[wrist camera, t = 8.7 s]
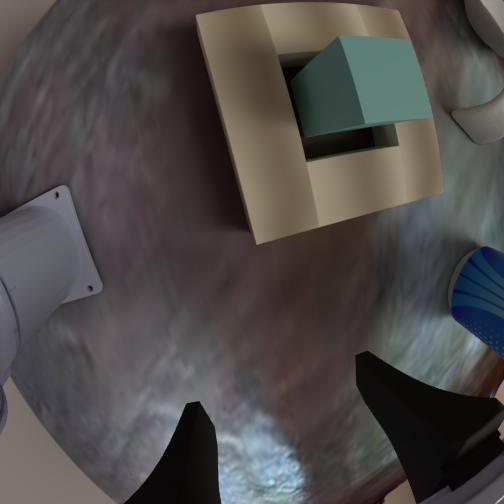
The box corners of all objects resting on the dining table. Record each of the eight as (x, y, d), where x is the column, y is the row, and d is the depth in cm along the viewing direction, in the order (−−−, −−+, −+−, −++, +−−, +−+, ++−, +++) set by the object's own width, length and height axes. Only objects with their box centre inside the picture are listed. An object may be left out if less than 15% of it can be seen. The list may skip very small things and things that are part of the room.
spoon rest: (449, -32, 12) (484, -49, 5) (506, 30, 15) (542, 24, 8) (422, 94, 17) (485, 83, 11) (491, 167, 20) (543, 176, 13)
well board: (250, 232, 19) (256, 244, 16) (197, 35, 14) (195, 15, 11) (419, 187, 19) (444, 193, 17) (378, 23, 15) (398, 10, 12)
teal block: (304, 137, 17) (365, 123, 10) (289, 81, 16) (338, 35, 9) (356, 129, 18) (432, 118, 10) (342, 76, 16) (410, 40, 9)
